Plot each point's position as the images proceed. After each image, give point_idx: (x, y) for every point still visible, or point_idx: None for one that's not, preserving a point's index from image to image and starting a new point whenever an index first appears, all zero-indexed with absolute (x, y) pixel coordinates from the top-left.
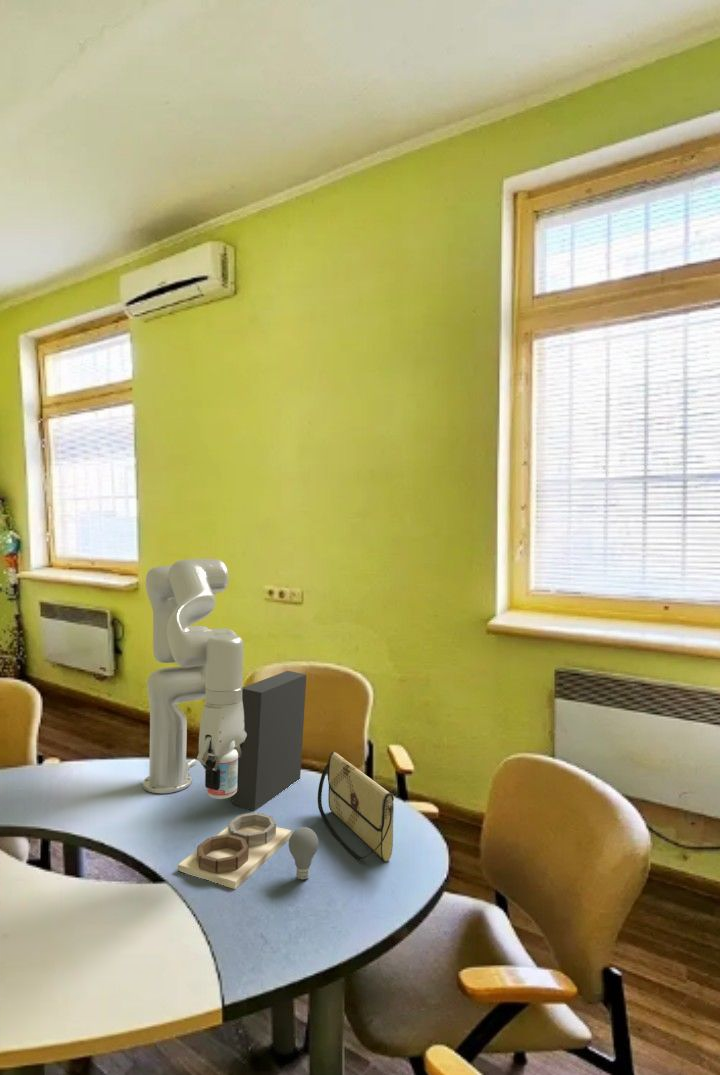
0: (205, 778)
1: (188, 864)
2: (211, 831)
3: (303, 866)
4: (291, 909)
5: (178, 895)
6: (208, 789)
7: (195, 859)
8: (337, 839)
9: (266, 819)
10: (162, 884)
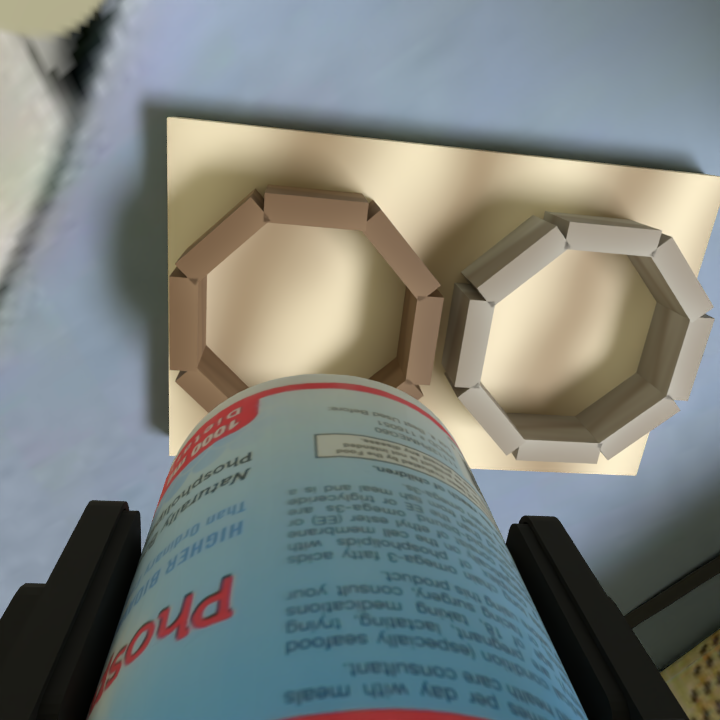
0: (49, 577)
1: (194, 174)
2: (601, 57)
3: None
4: None
5: (17, 240)
6: (176, 466)
7: (251, 182)
8: (631, 615)
9: (661, 383)
10: (46, 106)
